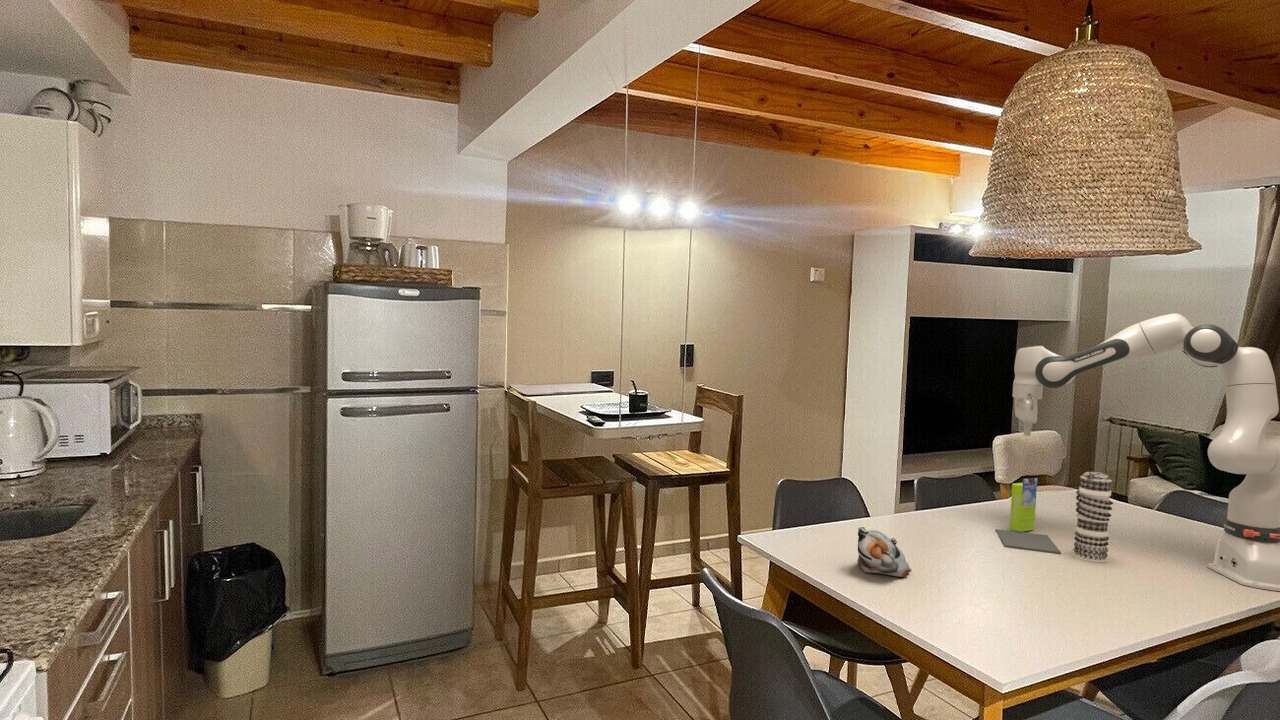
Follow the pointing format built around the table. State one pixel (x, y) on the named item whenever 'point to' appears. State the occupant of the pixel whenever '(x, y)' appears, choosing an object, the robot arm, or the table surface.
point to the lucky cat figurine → (880, 554)
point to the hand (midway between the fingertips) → (1024, 433)
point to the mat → (1027, 541)
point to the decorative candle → (1093, 517)
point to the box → (1023, 505)
